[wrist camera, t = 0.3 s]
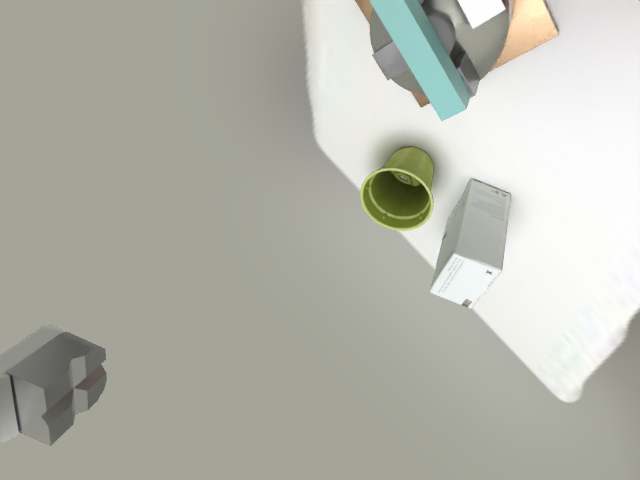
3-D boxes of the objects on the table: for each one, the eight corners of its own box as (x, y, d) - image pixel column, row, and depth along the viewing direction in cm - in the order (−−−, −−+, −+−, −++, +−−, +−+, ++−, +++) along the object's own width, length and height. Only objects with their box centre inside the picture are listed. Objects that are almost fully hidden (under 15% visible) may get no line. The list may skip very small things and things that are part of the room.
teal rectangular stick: (418, -40, 38) (404, -26, 35) (483, 81, 43) (476, 103, 39) (376, -8, 41) (359, 8, 38) (442, 102, 45) (432, 125, 42)
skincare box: (471, 177, 61) (452, 248, 51) (514, 194, 60) (504, 270, 50) (446, 220, 67) (425, 292, 57) (485, 236, 66) (471, 312, 56)
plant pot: (368, 173, 67) (349, 208, 61) (396, 122, 60) (378, 155, 54) (424, 204, 66) (410, 241, 60) (459, 156, 60) (447, 193, 54)
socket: (486, -128, 41) (467, -114, 33) (558, 31, 47) (557, 76, 38) (350, -16, 51) (309, 16, 43) (423, 103, 57) (399, 151, 49)
